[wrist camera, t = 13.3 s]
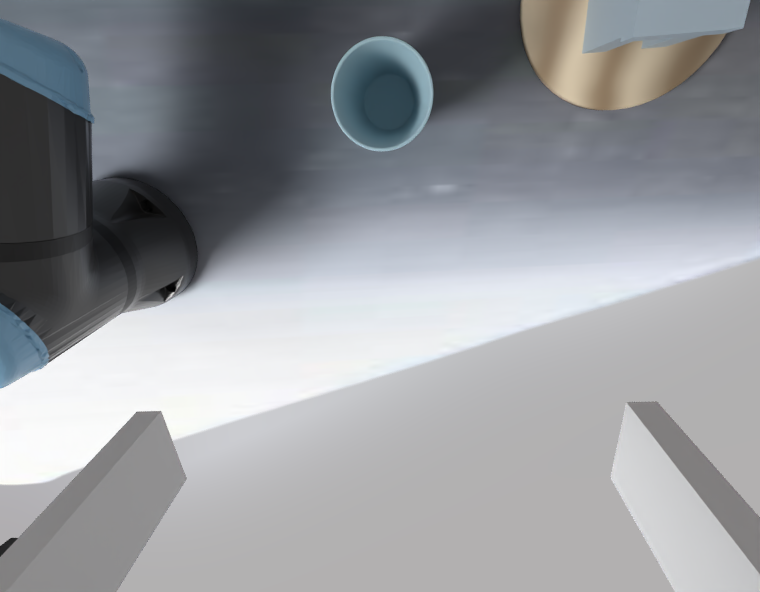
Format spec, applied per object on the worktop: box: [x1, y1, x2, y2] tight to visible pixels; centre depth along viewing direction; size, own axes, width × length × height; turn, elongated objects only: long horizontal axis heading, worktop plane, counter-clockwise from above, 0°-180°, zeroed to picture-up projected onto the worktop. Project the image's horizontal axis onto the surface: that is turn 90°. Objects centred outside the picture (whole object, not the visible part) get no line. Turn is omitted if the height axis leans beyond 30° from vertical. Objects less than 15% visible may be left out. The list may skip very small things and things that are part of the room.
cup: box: [331, 36, 434, 151], centre depth 34 cm, size 8×8×10 cm
